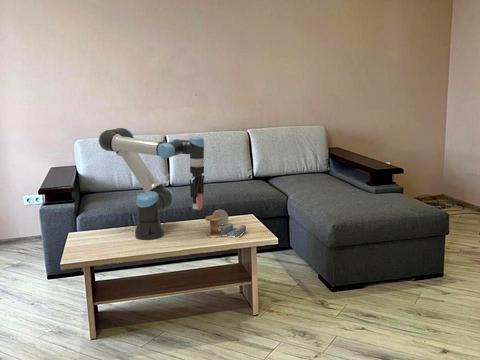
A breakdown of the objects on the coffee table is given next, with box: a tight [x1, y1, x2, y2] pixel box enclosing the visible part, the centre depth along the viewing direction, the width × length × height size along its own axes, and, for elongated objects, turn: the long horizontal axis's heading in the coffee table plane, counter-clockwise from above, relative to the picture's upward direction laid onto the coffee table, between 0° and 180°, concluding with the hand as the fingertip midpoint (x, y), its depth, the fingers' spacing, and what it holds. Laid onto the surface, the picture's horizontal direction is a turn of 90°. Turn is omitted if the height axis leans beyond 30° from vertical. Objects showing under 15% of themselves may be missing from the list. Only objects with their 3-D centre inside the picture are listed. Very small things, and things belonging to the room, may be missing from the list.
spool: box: [205, 214, 222, 237], centre depth 270 cm, size 9×9×10 cm
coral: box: [211, 208, 229, 226], centre depth 290 cm, size 10×10×10 cm
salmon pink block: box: [196, 193, 204, 211], centre depth 273 cm, size 4×4×8 cm
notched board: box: [220, 223, 247, 237], centre depth 271 cm, size 10×11×4 cm
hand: (197, 207), depth 274 cm, fingers closed on salmon pink block, 4 cm apart
